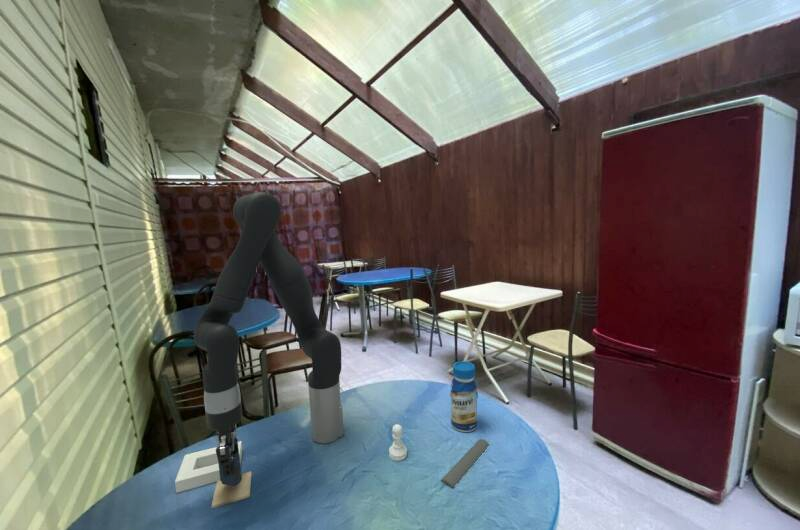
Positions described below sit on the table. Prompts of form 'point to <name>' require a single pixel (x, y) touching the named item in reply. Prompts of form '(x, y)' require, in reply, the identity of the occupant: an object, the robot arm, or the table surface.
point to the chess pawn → (397, 445)
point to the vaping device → (236, 477)
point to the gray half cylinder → (465, 463)
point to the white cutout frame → (200, 469)
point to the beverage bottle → (464, 397)
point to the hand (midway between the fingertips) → (230, 467)
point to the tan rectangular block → (232, 491)
